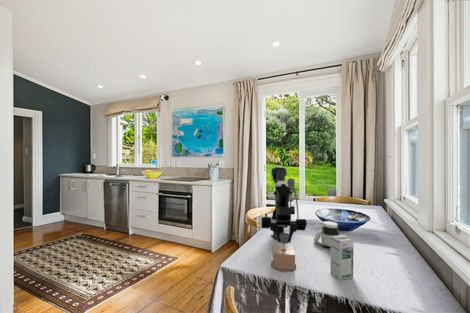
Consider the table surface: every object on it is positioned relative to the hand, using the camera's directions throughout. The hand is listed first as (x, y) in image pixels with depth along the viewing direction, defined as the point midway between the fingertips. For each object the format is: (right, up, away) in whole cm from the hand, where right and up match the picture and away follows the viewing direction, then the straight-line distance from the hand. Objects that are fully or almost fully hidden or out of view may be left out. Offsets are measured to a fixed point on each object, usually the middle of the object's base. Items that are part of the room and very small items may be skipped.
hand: (284, 242), depth 92 cm
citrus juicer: (+19, -10, +63) cm, 67 cm away
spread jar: (+26, -10, +24) cm, 37 cm away
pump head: (0, -5, 0) cm, 5 cm away
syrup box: (+20, -11, -6) cm, 24 cm away
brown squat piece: (0, -10, +1) cm, 10 cm away
